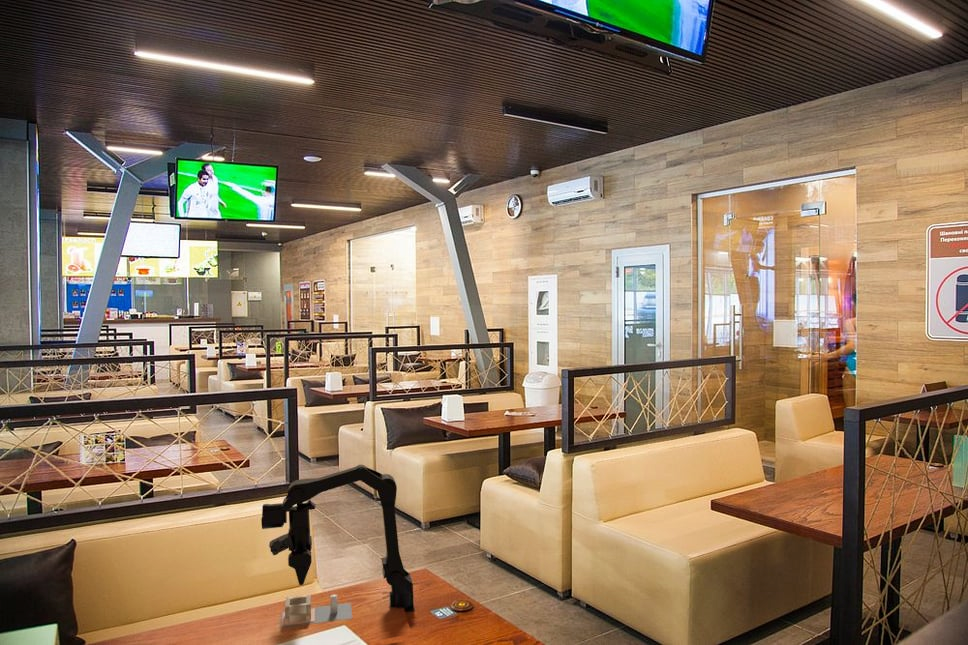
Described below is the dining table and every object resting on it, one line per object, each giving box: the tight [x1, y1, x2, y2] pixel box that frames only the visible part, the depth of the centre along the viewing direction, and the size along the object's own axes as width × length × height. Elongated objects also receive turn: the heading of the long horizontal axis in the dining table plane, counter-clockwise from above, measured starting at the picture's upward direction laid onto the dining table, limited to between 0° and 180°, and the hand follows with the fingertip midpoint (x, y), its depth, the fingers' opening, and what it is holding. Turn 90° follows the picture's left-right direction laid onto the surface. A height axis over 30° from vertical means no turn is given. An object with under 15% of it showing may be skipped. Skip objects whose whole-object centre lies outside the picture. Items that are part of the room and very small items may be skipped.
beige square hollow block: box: [284, 594, 312, 623], centre depth 192 cm, size 7×7×4 cm
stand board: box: [279, 594, 353, 629], centre depth 193 cm, size 20×11×6 cm, turn 104°
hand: (301, 578), depth 192 cm, fingers open, 9 cm apart
